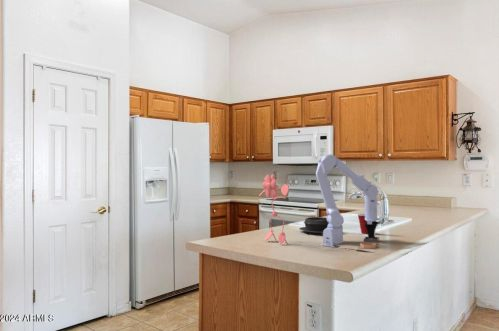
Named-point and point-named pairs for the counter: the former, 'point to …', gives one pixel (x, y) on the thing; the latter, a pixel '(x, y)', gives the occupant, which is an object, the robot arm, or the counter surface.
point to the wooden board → (365, 248)
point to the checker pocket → (371, 240)
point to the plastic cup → (362, 223)
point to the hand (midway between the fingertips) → (371, 237)
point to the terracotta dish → (368, 245)
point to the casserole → (315, 225)
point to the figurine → (271, 190)
